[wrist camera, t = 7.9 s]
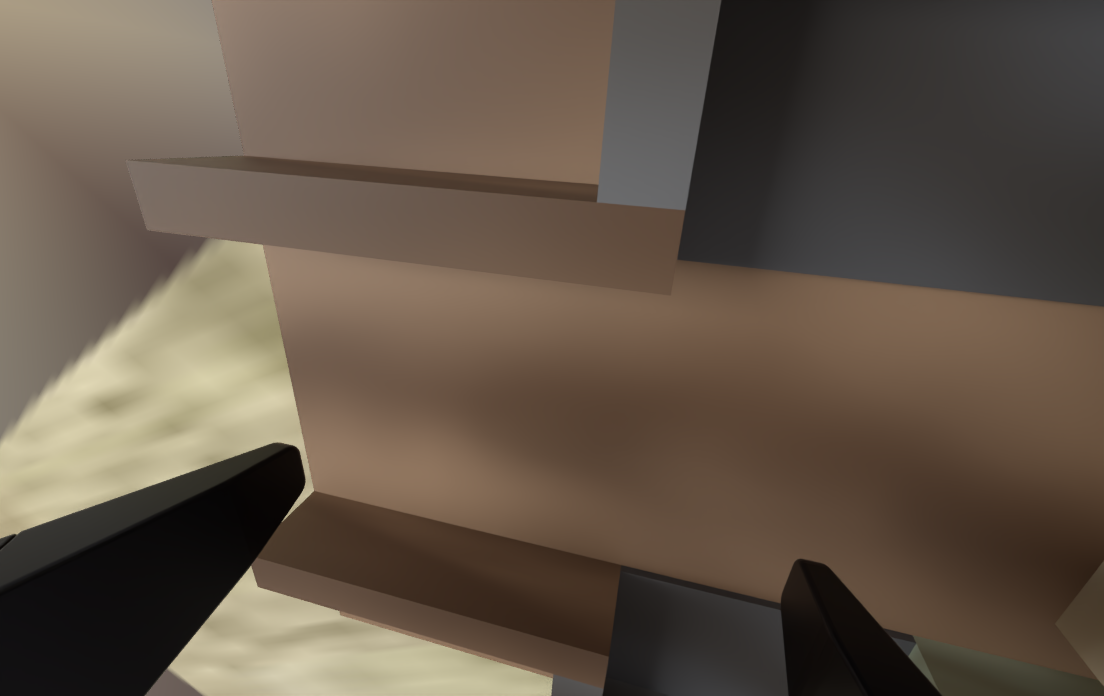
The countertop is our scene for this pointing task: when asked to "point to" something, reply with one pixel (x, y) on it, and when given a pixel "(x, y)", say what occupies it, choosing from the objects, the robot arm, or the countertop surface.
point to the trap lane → (679, 323)
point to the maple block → (1087, 623)
